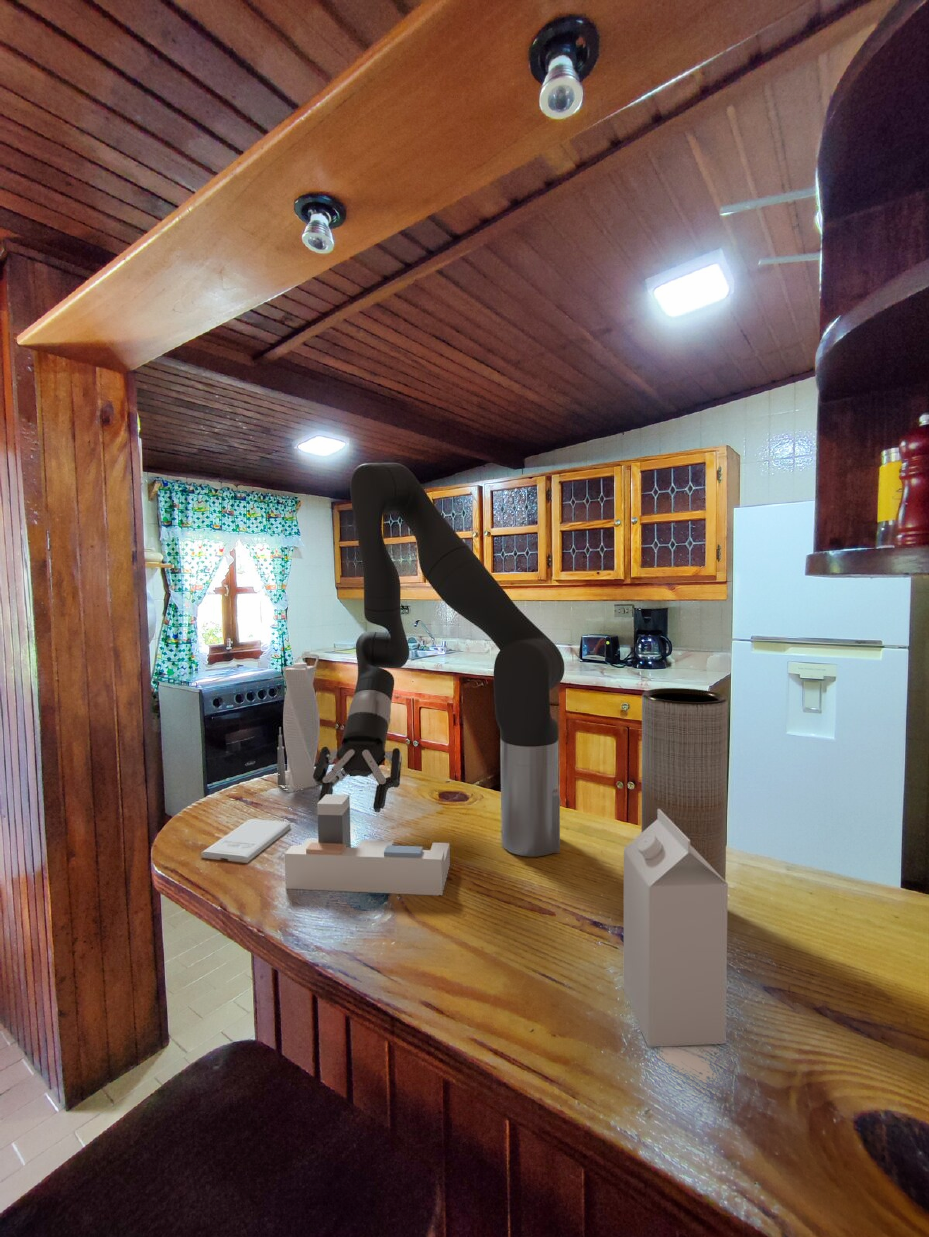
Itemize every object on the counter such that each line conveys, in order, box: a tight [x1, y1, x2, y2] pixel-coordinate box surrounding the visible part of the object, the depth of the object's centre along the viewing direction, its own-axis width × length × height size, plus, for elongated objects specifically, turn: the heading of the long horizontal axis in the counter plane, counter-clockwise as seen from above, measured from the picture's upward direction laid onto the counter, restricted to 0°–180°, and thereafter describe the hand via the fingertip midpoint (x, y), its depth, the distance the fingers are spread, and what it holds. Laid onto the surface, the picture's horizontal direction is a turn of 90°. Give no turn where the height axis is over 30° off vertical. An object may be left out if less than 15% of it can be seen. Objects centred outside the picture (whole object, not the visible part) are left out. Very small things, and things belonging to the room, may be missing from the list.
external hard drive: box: [200, 818, 292, 864], centre depth 91 cm, size 2×8×12 cm
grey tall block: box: [316, 793, 352, 847], centre depth 81 cm, size 4×4×11 cm
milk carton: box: [623, 809, 729, 1048], centre depth 52 cm, size 7×7×19 cm
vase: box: [641, 687, 729, 882], centre depth 69 cm, size 10×10×28 cm
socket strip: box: [284, 837, 451, 897], centre depth 79 cm, size 22×8×6 cm, turn 84°
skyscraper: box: [276, 654, 321, 793], centre depth 117 cm, size 8×8×28 cm
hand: (350, 809), depth 89 cm, fingers open, 8 cm apart
